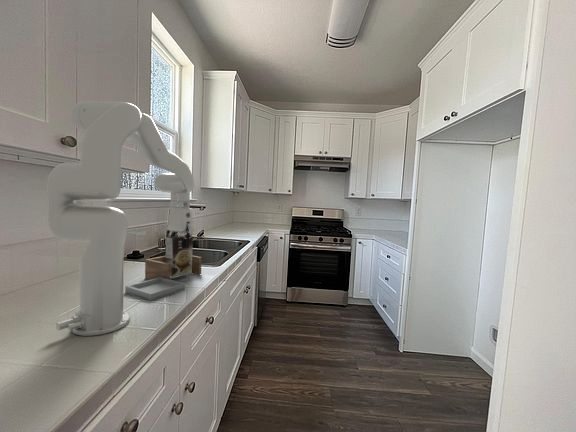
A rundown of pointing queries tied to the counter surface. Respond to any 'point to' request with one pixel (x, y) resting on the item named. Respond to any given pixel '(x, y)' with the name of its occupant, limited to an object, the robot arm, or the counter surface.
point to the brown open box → (167, 267)
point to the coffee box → (179, 256)
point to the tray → (154, 288)
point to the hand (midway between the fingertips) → (179, 246)
